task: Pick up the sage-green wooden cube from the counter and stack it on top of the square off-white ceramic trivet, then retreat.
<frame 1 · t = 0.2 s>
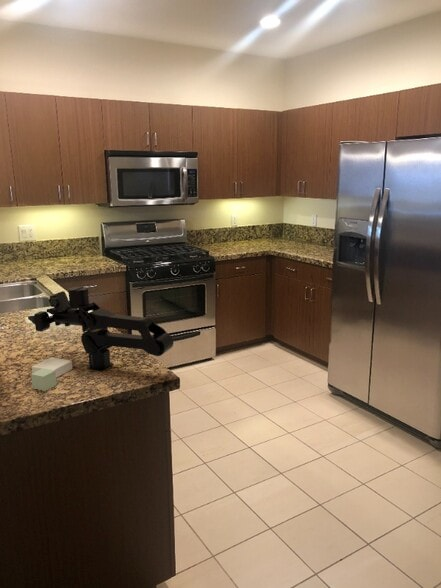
hand: (37, 314, 168), 16 cm above the table, tool horizontal, fingers open, 9 cm apart
trivet: (52, 372, 159), on the table
cube: (44, 387, 148), on the table
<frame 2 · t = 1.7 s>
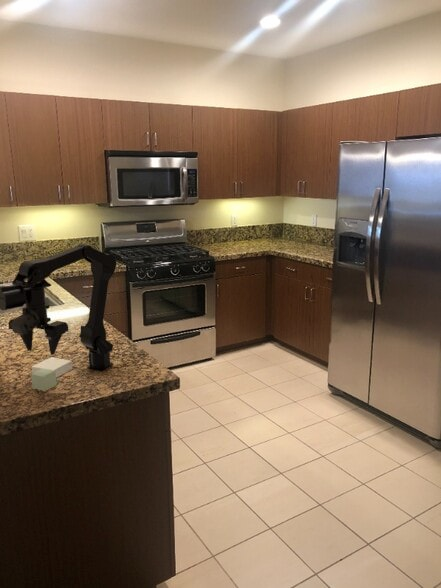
hand: (41, 352, 145), 11 cm above the table, tool pointing down, fingers open, 9 cm apart
nothing on the table moved.
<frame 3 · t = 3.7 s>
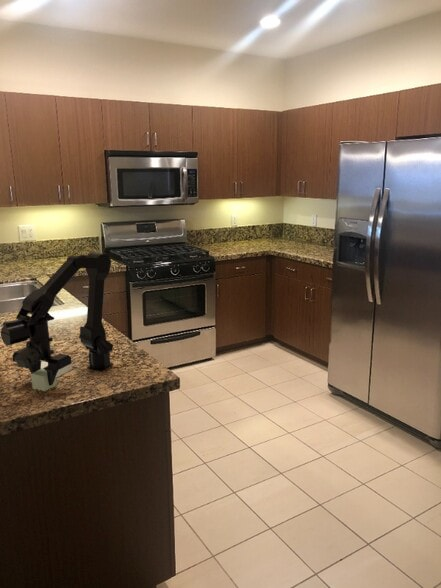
hand: (44, 383, 148), 1 cm above the table, tool pointing down, fingers closed on cube, 5 cm apart
cube: (44, 386, 148), on the table, touching gripper
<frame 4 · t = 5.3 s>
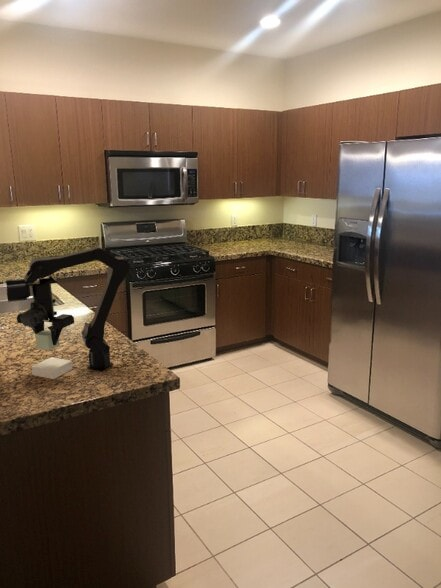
hand: (48, 344, 154), 11 cm above the table, tool pointing down, fingers closed on cube, 5 cm apart
cube: (48, 347, 154), point 10 cm above the table, touching gripper
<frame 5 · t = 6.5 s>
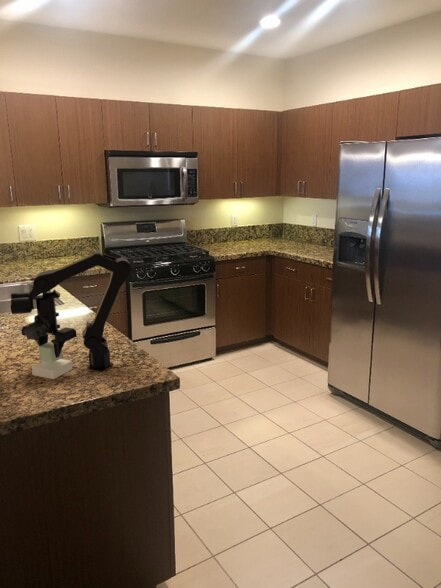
hand: (51, 356, 158), 6 cm above the table, tool pointing down, fingers closed on cube, 5 cm apart
cube: (51, 359, 158), point 5 cm above the table, touching gripper
when the fingers open (5 cm above the table, at t = 7.3 s): cube drops 1 cm, resting on trivet.
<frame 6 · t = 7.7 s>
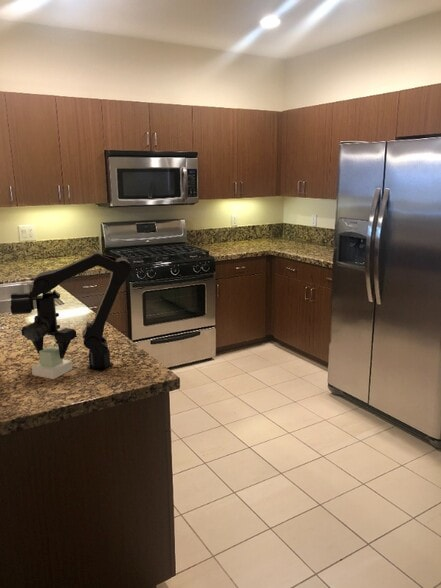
hand: (51, 356, 158), 5 cm above the table, tool pointing down, fingers open, 9 cm apart
cube: (51, 363, 158), point 3 cm above the table, touching trivet
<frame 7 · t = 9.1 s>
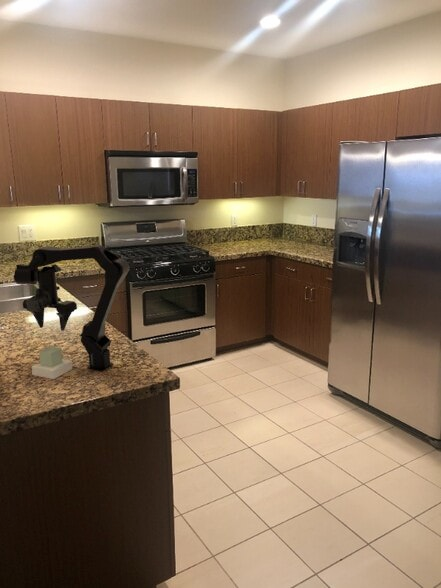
hand: (52, 329, 162), 13 cm above the table, tool pointing down, fingers open, 9 cm apart
nothing on the table moved.
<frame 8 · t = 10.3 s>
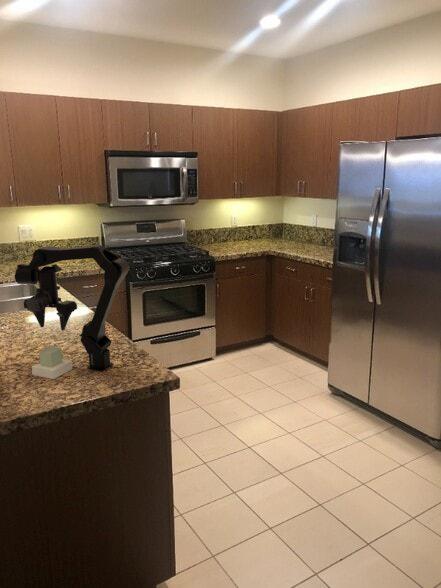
hand: (52, 328, 163), 13 cm above the table, tool pointing down, fingers open, 9 cm apart
nothing on the table moved.
at the end: cube inside the target area on the trivet (0.0 cm from its centre), point 3.0 cm above the trivet's base; cube tilted 0°; the gripper is holding nothing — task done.
